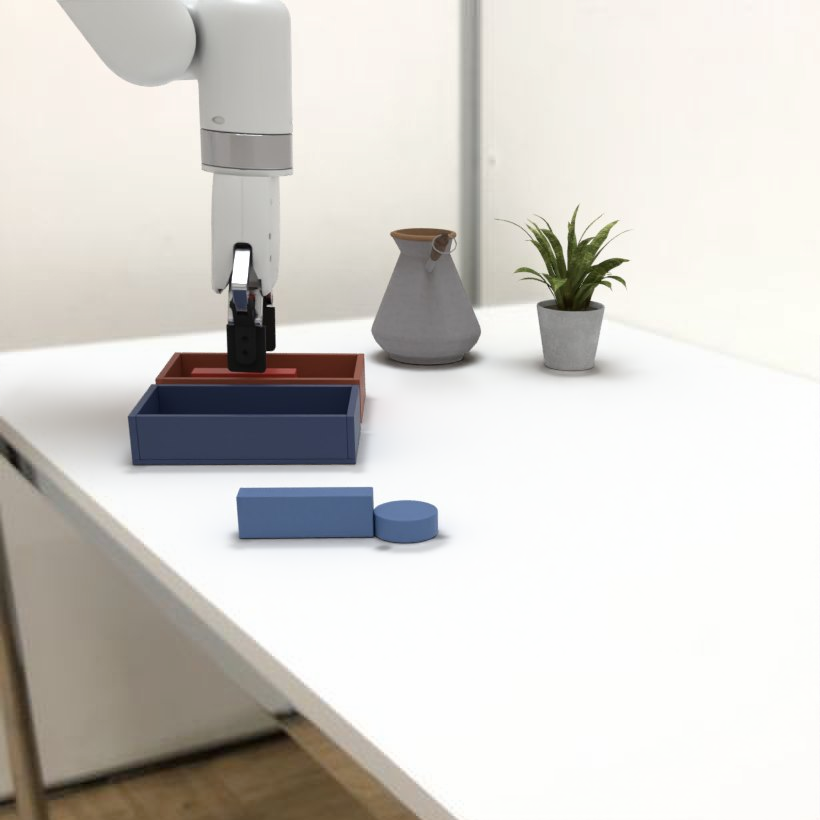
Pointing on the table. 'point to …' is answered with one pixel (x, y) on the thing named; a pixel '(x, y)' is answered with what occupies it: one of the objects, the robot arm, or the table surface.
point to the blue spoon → (331, 514)
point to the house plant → (571, 296)
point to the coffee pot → (425, 302)
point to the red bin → (307, 364)
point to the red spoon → (244, 373)
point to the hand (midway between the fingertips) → (252, 359)
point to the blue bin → (245, 424)
